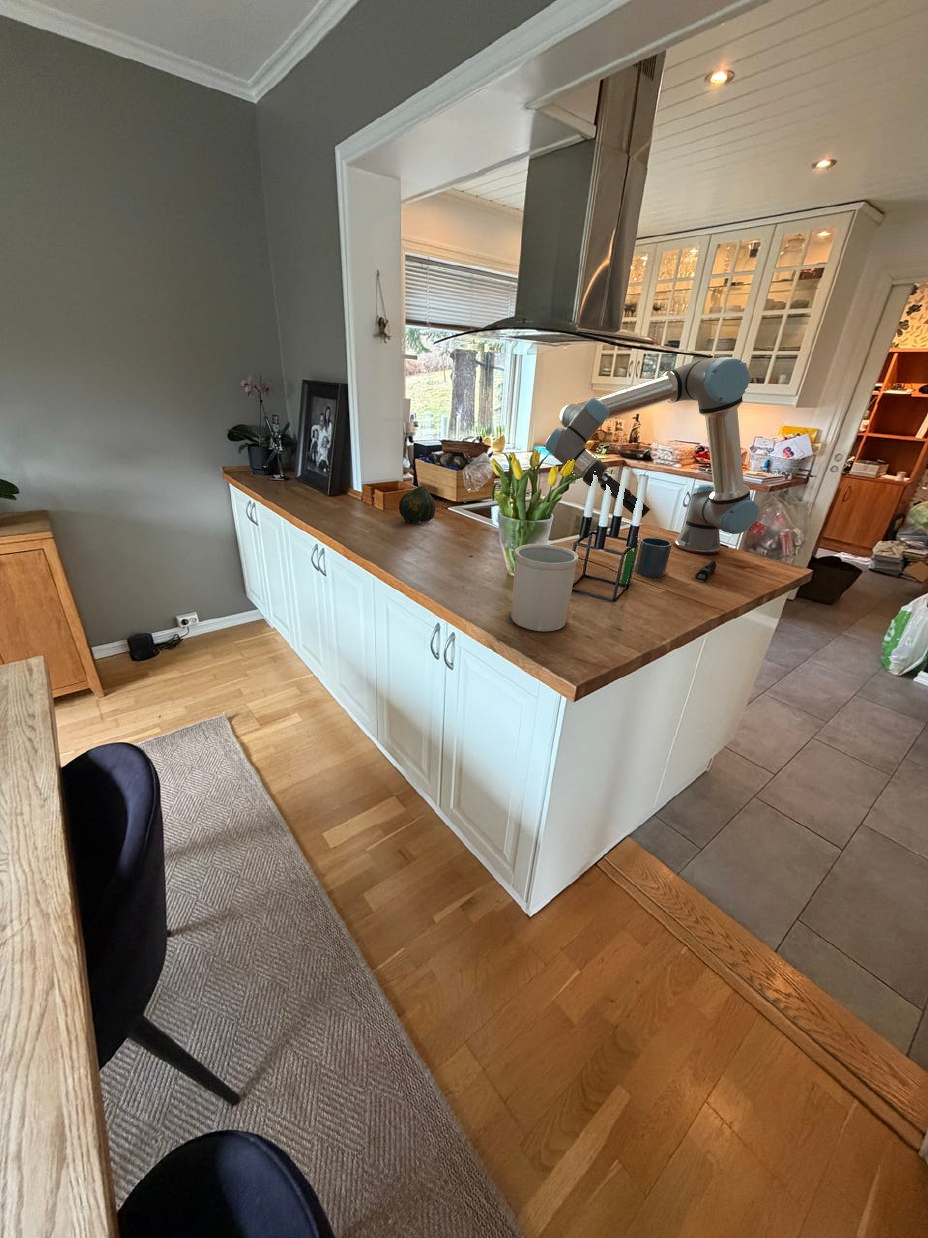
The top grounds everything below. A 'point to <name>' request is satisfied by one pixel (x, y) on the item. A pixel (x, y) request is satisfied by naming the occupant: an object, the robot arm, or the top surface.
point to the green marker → (628, 564)
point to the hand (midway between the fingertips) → (645, 515)
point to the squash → (417, 505)
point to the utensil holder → (542, 586)
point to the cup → (653, 557)
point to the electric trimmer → (706, 571)
